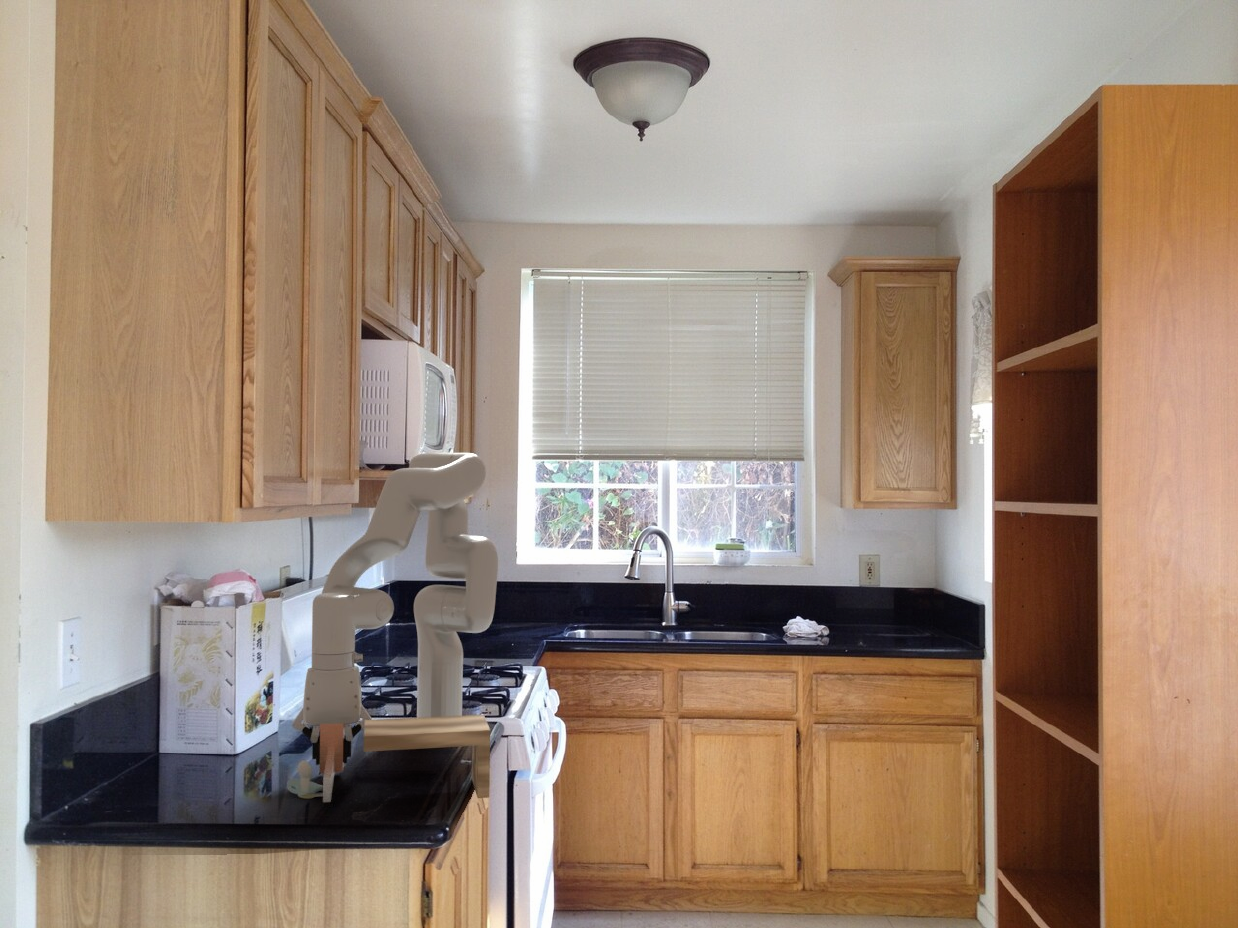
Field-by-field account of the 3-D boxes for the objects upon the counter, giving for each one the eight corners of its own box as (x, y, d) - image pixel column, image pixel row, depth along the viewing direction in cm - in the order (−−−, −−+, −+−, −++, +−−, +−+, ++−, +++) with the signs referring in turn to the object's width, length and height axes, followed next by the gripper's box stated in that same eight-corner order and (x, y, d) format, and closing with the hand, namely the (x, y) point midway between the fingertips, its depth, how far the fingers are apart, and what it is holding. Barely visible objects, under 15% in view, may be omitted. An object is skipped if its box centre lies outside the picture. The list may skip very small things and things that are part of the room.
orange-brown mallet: (320, 766, 175) (321, 717, 175) (343, 765, 176) (344, 716, 176) (314, 802, 155) (314, 747, 155) (339, 800, 156) (340, 745, 156)
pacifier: (311, 787, 168) (281, 795, 163) (312, 751, 168) (283, 758, 163) (337, 795, 164) (308, 804, 159) (339, 759, 164) (310, 766, 159)
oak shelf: (363, 785, 169) (364, 720, 169) (482, 777, 174) (483, 714, 174) (362, 805, 158) (363, 736, 158) (489, 797, 163) (490, 730, 163)
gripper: (380, 655, 179) (379, 753, 179) (286, 658, 175) (285, 758, 175) (380, 663, 172) (379, 765, 172) (282, 667, 168) (281, 771, 168)
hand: (331, 760), depth 173 cm, fingers closed on orange-brown mallet, 4 cm apart
